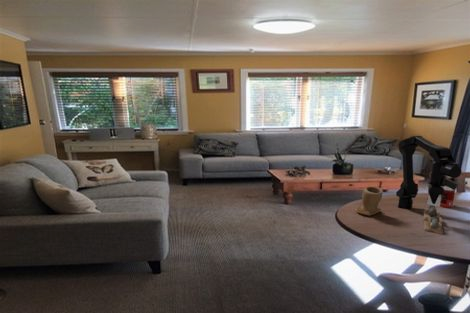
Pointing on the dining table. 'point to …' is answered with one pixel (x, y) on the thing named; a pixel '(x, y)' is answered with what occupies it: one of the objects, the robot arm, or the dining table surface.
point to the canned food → (447, 197)
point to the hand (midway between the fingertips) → (433, 202)
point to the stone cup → (370, 201)
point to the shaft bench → (427, 223)
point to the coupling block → (436, 201)
